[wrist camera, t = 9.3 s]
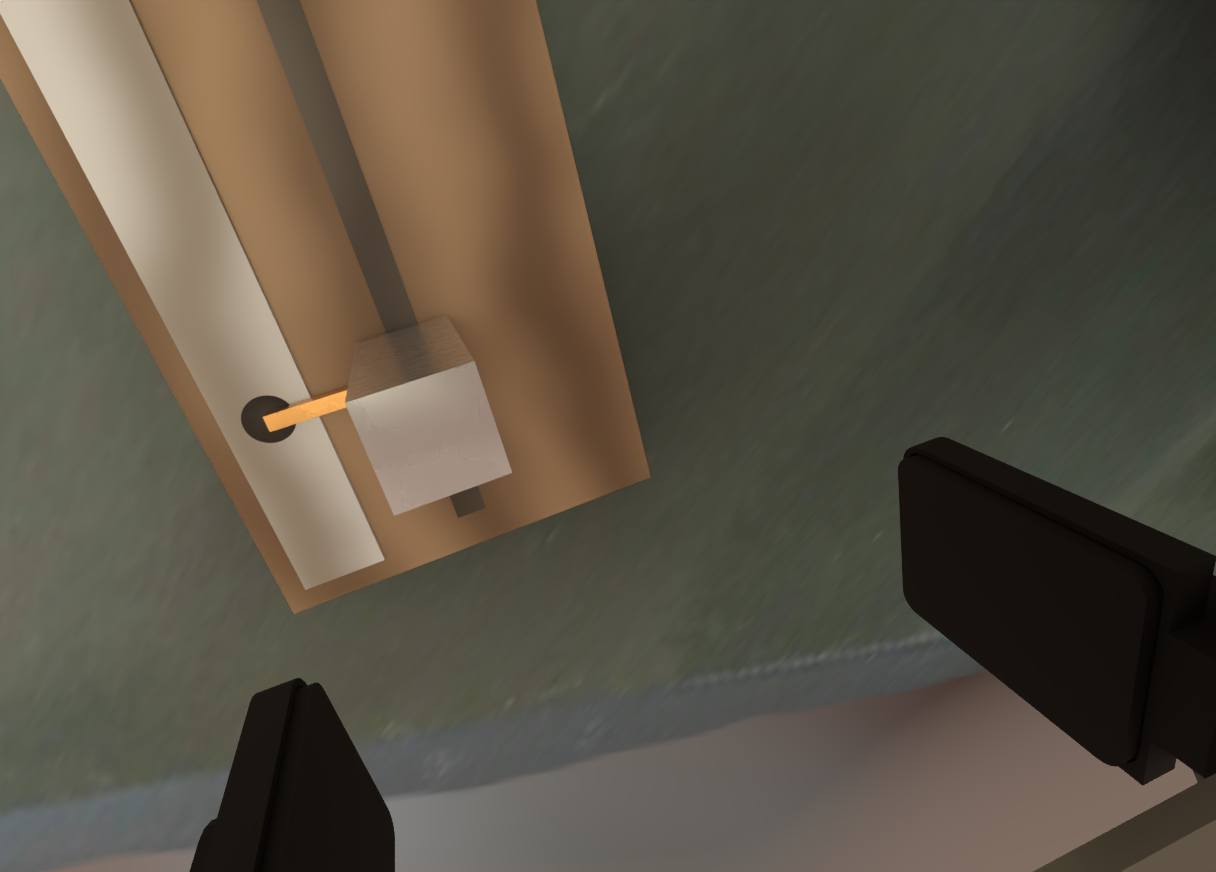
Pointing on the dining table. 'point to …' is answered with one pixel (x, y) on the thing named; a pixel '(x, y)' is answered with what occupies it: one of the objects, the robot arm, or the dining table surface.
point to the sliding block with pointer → (415, 414)
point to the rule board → (337, 245)
